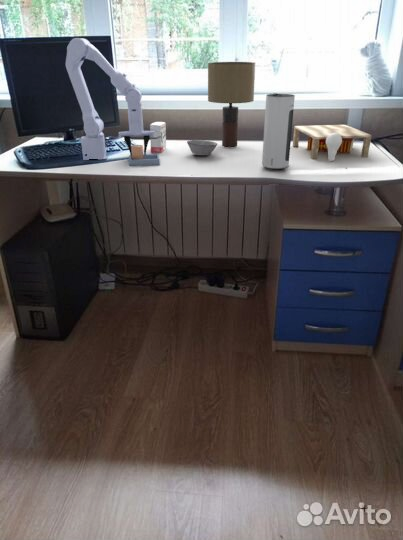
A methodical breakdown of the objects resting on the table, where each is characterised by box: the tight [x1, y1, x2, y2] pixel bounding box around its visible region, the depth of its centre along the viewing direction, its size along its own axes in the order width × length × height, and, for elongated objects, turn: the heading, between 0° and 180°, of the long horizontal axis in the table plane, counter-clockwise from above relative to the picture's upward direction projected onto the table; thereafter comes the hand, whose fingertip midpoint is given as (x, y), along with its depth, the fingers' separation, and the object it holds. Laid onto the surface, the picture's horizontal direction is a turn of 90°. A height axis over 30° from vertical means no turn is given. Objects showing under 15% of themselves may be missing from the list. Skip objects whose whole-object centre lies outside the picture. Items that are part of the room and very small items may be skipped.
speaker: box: [261, 92, 296, 170], centre depth 159 cm, size 11×10×26 cm
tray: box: [128, 153, 161, 167], centre depth 170 cm, size 12×9×2 cm
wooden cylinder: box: [131, 144, 144, 160], centre depth 169 cm, size 5×5×6 cm
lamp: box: [207, 61, 256, 148], centre depth 189 cm, size 20×20×35 cm
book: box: [306, 136, 355, 154], centre depth 190 cm, size 18×13×5 cm
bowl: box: [186, 139, 219, 156], centre depth 180 cm, size 13×13×5 cm
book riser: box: [292, 124, 372, 160], centre depth 184 cm, size 24×26×9 cm
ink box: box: [149, 121, 167, 154], centre depth 186 cm, size 9×5×12 cm, turn 168°
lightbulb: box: [326, 133, 342, 162], centre depth 167 cm, size 6×6×11 cm
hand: (138, 154), depth 177 cm, fingers open, 5 cm apart
